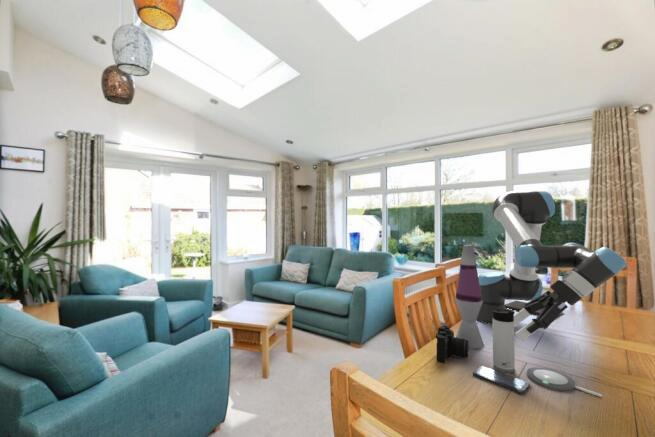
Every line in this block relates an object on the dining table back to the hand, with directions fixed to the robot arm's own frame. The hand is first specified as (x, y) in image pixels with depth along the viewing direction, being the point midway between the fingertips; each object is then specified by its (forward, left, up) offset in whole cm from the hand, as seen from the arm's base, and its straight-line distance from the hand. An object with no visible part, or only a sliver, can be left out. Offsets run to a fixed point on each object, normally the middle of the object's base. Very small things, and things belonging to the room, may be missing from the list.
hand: (515, 329), depth 98 cm
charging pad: (+12, +2, -14) cm, 18 cm away
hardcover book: (-16, +79, -15) cm, 82 cm away
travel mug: (-3, -1, -14) cm, 14 cm away
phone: (-1, -10, -14) cm, 17 cm away
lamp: (-20, +11, -14) cm, 27 cm away
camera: (-19, -6, -14) cm, 24 cm away
